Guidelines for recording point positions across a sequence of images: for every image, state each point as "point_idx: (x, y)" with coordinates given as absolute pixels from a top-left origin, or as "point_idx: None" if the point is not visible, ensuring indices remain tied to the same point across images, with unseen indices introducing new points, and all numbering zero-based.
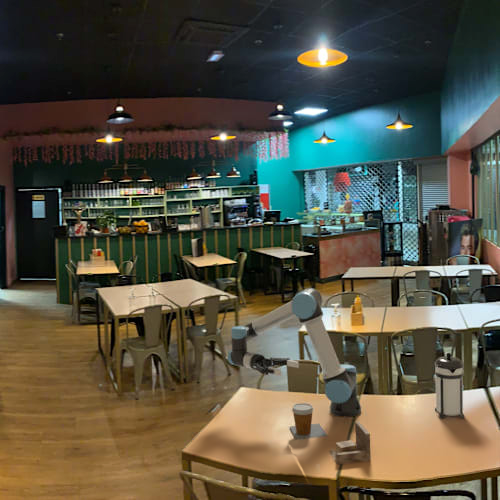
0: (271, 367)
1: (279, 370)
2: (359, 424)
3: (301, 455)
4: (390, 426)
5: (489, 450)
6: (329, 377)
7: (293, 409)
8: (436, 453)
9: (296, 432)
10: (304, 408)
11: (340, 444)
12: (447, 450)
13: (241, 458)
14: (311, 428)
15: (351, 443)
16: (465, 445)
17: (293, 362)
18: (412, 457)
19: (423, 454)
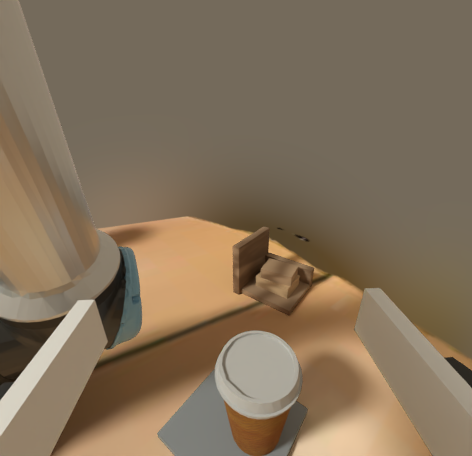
0: (463, 405)
1: (379, 295)
2: (244, 242)
3: (345, 347)
4: None
5: (150, 223)
6: (120, 259)
7: (297, 384)
8: (184, 241)
9: (273, 450)
10: (261, 351)
11: (289, 271)
12: (169, 238)
13: None
14: (210, 426)
15: (271, 264)
16: (146, 233)
17: (65, 355)
18: (210, 249)
19: (195, 246)
